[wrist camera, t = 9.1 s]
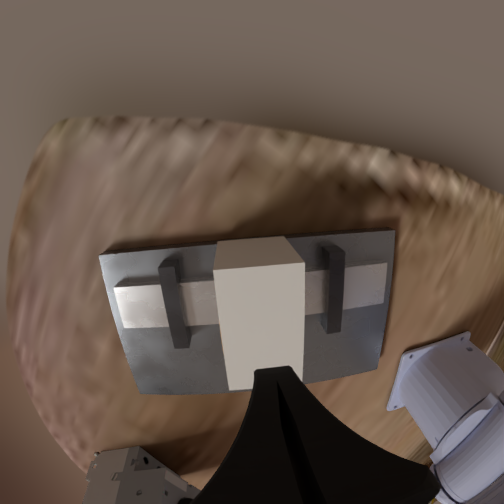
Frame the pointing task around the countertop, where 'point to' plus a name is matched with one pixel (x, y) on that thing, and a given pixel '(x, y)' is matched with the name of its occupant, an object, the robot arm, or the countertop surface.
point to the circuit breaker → (134, 480)
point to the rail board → (207, 320)
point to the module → (259, 306)
